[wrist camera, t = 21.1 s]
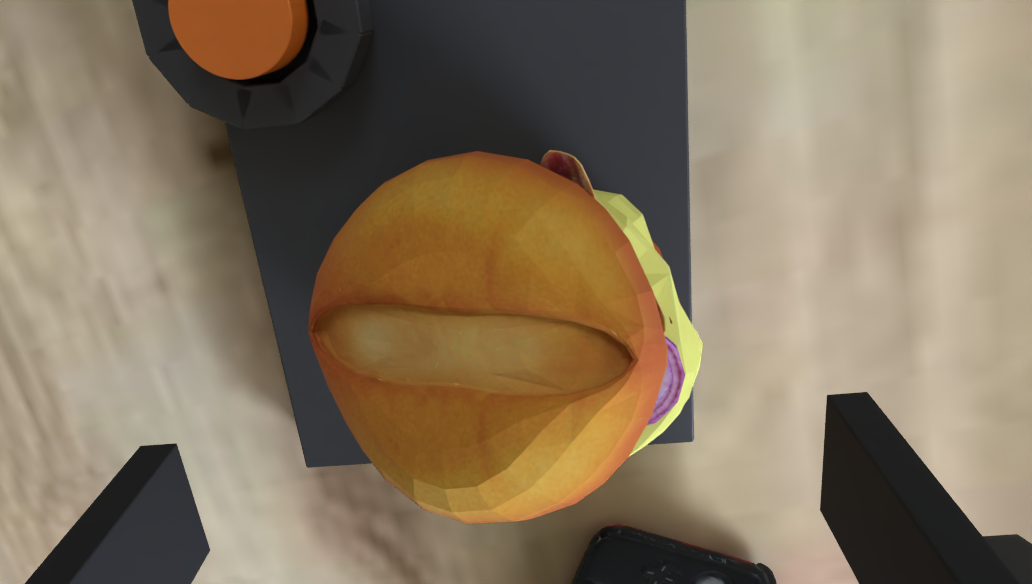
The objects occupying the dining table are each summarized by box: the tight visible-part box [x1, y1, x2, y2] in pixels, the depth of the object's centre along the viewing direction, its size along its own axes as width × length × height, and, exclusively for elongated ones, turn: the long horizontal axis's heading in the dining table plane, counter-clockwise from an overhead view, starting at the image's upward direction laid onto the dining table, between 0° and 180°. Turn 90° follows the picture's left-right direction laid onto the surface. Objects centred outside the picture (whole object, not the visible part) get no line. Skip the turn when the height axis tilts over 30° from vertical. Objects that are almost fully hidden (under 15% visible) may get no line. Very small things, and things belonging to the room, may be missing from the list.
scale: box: [132, 0, 694, 468], centre depth 24 cm, size 19×15×4 cm
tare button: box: [168, 0, 309, 80], centre depth 20 cm, size 3×3×2 cm
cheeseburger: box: [308, 150, 703, 524], centre depth 22 cm, size 10×11×10 cm
